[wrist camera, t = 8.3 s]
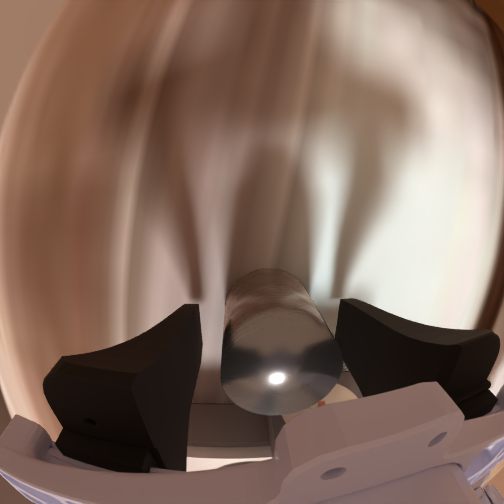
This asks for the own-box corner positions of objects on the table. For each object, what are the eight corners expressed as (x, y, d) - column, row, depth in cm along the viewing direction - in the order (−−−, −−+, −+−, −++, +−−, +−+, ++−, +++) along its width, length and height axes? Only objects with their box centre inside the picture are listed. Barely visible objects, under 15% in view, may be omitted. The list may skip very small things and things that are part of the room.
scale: (359, 364, 14) (394, 423, 9) (318, 481, 18) (329, 521, 13) (133, 371, 14) (105, 434, 9) (179, 485, 18) (174, 527, 13)
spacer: (311, 267, 13) (352, 318, 8) (305, 340, 14) (332, 408, 9) (223, 269, 12) (216, 326, 8) (227, 344, 13) (224, 417, 9)
